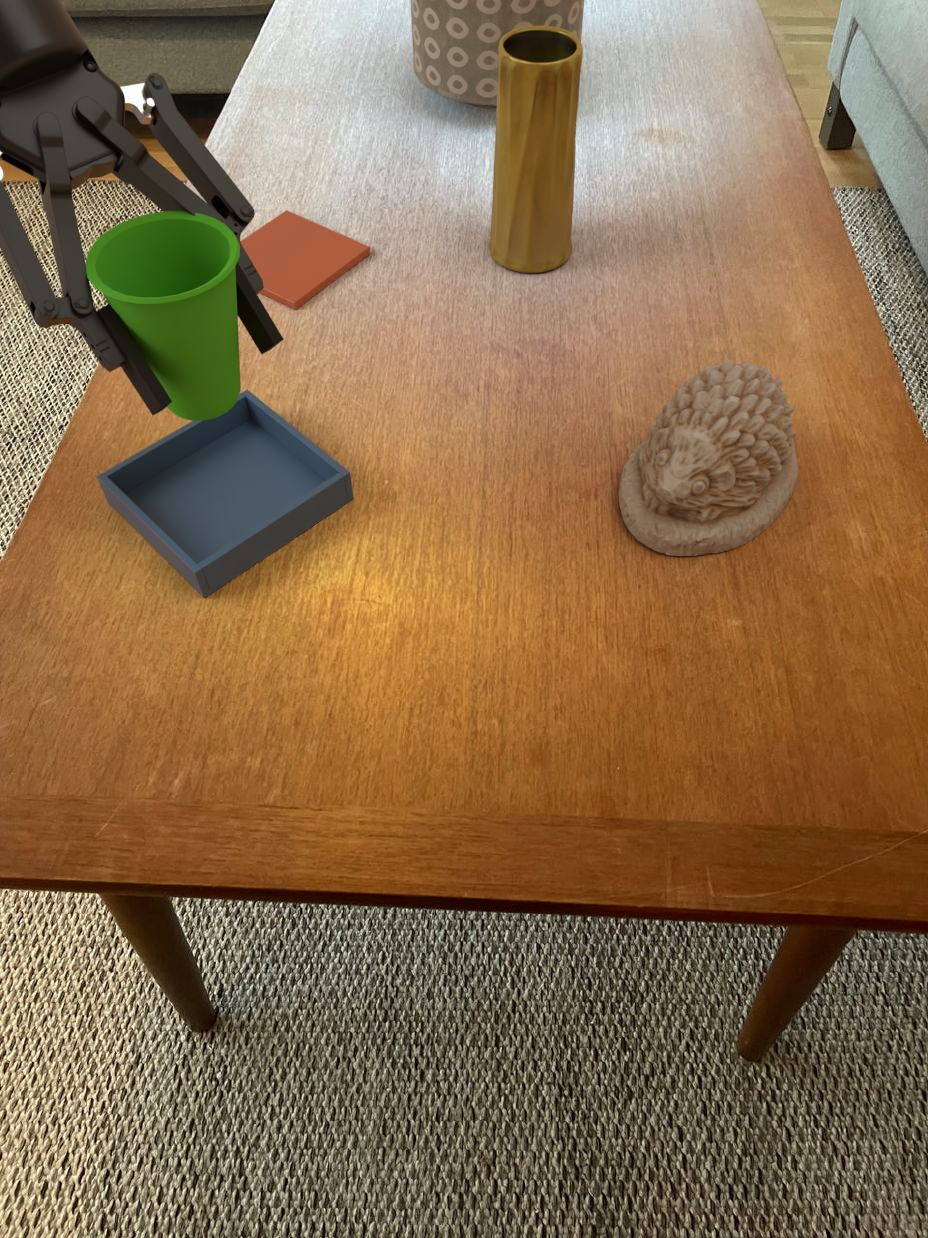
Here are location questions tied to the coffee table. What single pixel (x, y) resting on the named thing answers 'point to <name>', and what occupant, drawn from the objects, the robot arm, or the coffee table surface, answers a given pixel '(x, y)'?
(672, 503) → the sculpture
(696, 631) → the coffee table surface
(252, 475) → the blue tray
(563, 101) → the vase
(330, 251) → the terracotta coaster
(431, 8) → the planter
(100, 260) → the cup
